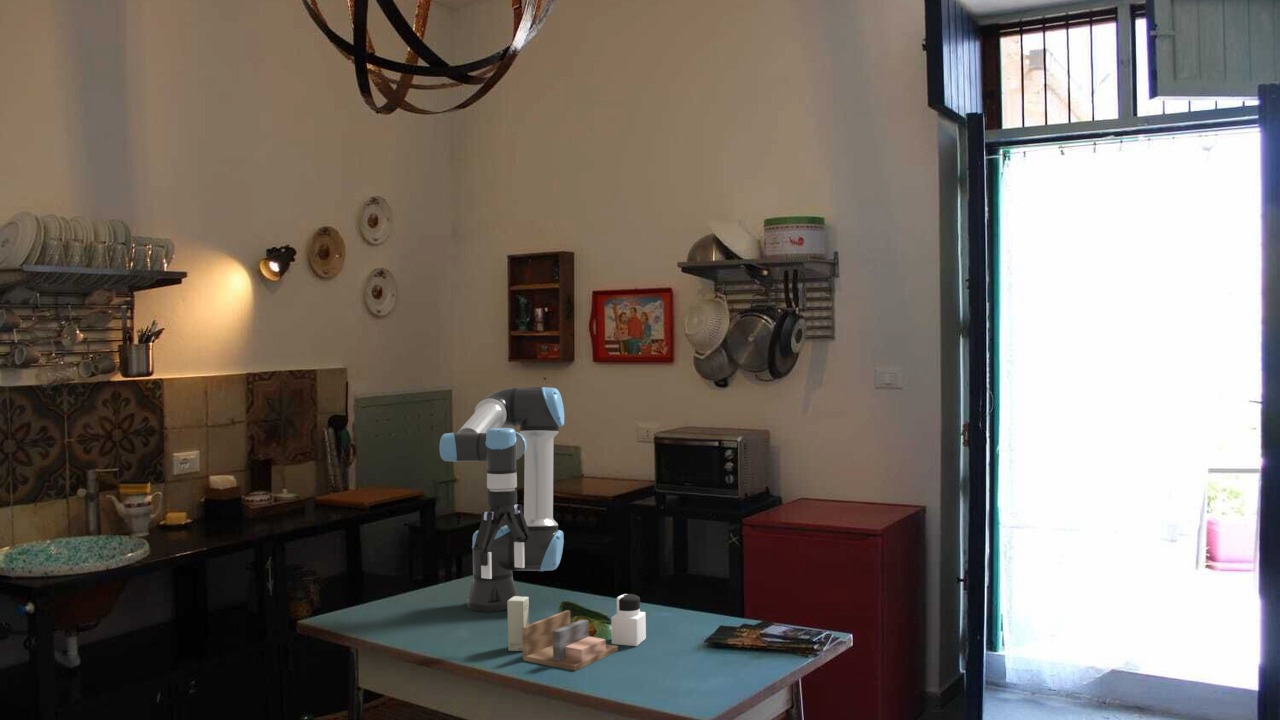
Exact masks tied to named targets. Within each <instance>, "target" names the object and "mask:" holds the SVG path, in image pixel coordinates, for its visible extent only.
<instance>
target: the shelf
mask: <svg viewBox="0 0 1280 720" xmlns="http://www.w3.org/2000/svg"><path fill="white" fill-rule="evenodd" d="M589 622H590V621H589V620H587V619H584V618H583V619H580V620H579V619H578V620H576V621H575V622H571V610H569V609H566V610H564V611H561V612H558V613H556V614H553V615H550V616H548V617H544V618H542V619H540V620H537V621H534V622H532V623H529V625H526V626H524V627H522V641H523V651H522V661H525V662H530V663H534V664H540V665H543V666H550V667H553V668H558V669H559V668H560V669H565V670H569V671H575V672H576V671H578V670H581V669H583V668H584V667H586V666H588V665H591V664H593V663H595V662H598V661H599V660H601V659H605V658H606V657H608V656H610V655H613V654H614V653H617V652H618V651H619V645H615V644H610V643H609V644H607V642H606V641H607V640H606V638H601V637H595V636H590V624H589Z"/></svg>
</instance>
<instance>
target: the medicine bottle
mask: <svg viewBox="0 0 1280 720" xmlns="http://www.w3.org/2000/svg"><path fill="white" fill-rule="evenodd" d="M646 617H647V616H646V611H641V598H640V596H638V595H636V594H632V593H624V594H621V595H619V596H617V597H616V612H615V614H614V615H613V616H611V618H610V620H611V622H610V623H611V625H610V626H611V629H610V631H611V634H610V635H611V645H615V646H630V647H639V645H641V643H643V642H644V641H645V640H646V639H647V623H646V622H647V620H646V619H647V618H646Z"/></svg>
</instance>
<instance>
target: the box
mask: <svg viewBox="0 0 1280 720" xmlns="http://www.w3.org/2000/svg"><path fill="white" fill-rule="evenodd" d="M529 599H530V597H529V596H520V595H518V596H514V597H512V598H510V599H509V600H508V601H507V608H508V610H507V641H508V642H507V646H508V647H507V650H508V651H511V652H523V641H522V627H524V626H526V625H529V624H530V600H529Z"/></svg>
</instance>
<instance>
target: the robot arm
mask: <svg viewBox="0 0 1280 720" xmlns="http://www.w3.org/2000/svg"><path fill="white" fill-rule="evenodd" d="M564 425H565V408H564V402H563V398H562V395H561V393H560V391H559V390H558V389H557V388H555V387H545V386H543V387H542V386H539V387H506V388H503V389H499V390H497V391H494V392H492V393H490V394H488V395H487V396H485V397H484V398H482V399H481V400H480V401H479V402H478V403H477V404H476V406H475V408H474V413H473V414H472V415H471V416H470V417H469V419H467V421H465V423H464V424H463V425H462V426H461V428H459V430H458V431H457V432H449V433H443V434H442V436H441V437H440V441H439V455H440V458H441V460H442V461H444V462H453V463H460V462H461V463H462V462H464V463H465V462H466V463H467V462H469V463H470V462H486V488H487V489H488V490H487V491H486V502H487V503H486V504H487V505H488V506H489V507H490V511H481V519H480V525H479V528H478V530H476V531H475V532H474V533H473V535H472V546H471V549H472V578H473V580H472V582H471V587H470V590H469V596H468V597H467V608H468V609H469V610H472V611H476V612H488V613H489V612H490V613H491V612H502V611H508V608H507V601H508V600H509V599H510V598H512V597H514V596H519V593H517V588H516V584H515V581H514V577H513V575H514V573H513V571H514V572H516V571H518V572H519V571H522V572H525V571H529V572H531V571H533V572H534V571H535V572H536V571H537V572H544V571H548V572H549V571H554V570H557V568H558V567H559V565H560V563H561V559H562V555H563V549H564V543H565V541H564V540H565V539H564V535H565V534H564V532H563V530H560V529H559V524H558V522H557V521H556V520H555V519H554V439H555V437H556V436H557V435H558V434H559V429H560V427H561V428H562V426H564ZM512 427H519V432H518V431H516V430H515V429H514V428H512ZM523 455H524V474H523V475H524V477H523V478H524V480H523V481H524V482H523V483H524V487H523V488H524V489H523V491H524V492H523V493H524V494H523V500H524V501H523V505H522V504H517V503H518V490H517V489H516V488H517V487H518V478H517V477H518V476H517V473H518V471H517V460H520V459H521V458H522V457H523Z"/></svg>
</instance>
